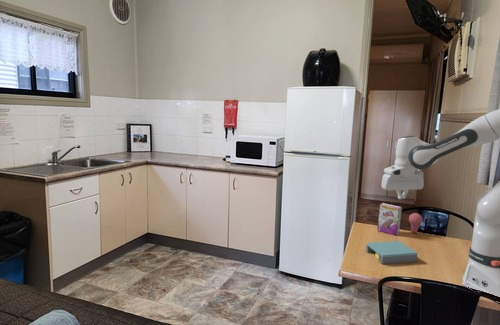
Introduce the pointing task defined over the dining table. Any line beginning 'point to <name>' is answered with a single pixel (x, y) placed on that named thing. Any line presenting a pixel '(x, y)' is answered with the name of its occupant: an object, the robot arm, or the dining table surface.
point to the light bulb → (415, 222)
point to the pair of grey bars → (394, 258)
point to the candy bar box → (389, 219)
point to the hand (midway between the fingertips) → (401, 198)
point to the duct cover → (391, 248)
